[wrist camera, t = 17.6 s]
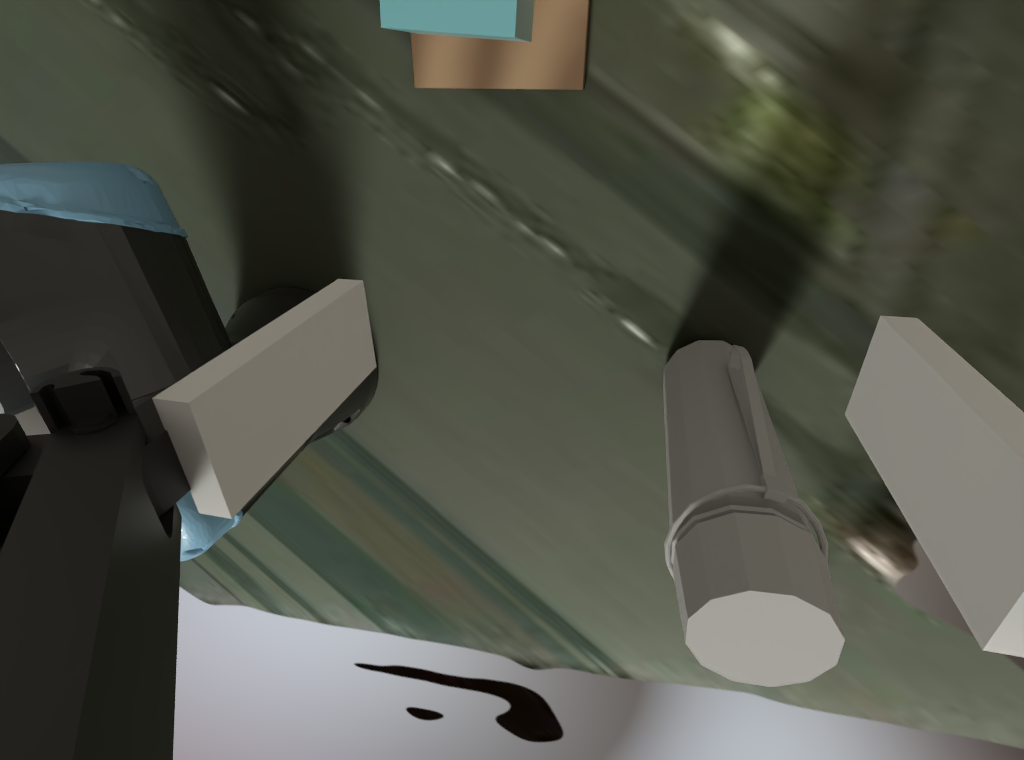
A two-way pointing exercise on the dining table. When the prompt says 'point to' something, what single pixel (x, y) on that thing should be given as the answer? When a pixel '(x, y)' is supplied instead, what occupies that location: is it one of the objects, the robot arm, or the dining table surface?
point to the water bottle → (741, 529)
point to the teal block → (461, 18)
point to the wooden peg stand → (510, 54)
